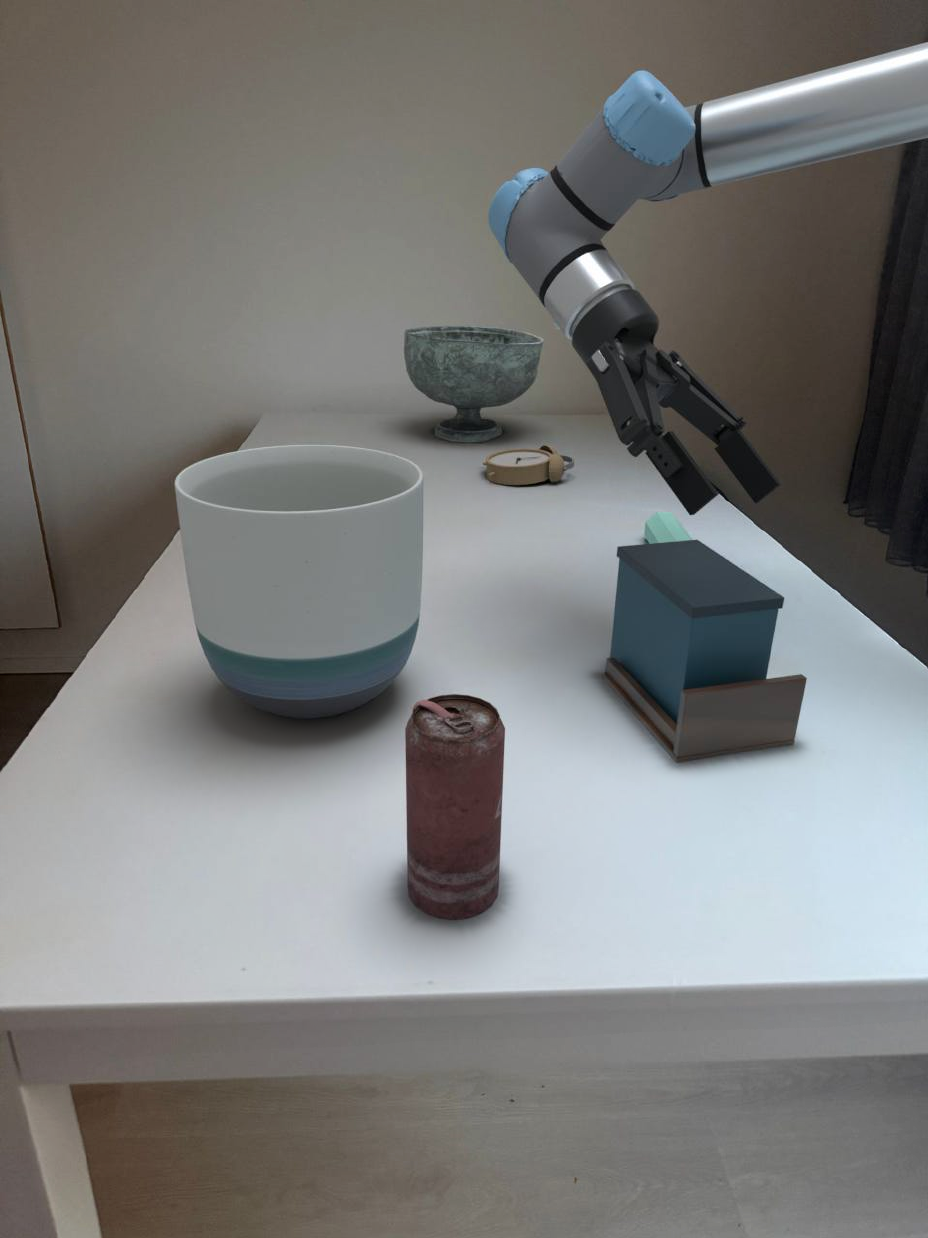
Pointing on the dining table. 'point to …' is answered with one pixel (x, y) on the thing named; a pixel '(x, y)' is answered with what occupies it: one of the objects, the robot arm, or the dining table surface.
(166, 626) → the dining table surface
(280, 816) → the dining table surface
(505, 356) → the decorative bowl
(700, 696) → the wooden drawer
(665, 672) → the storage container
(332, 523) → the planter
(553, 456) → the alarm clock
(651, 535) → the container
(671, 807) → the dining table surface
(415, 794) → the can
